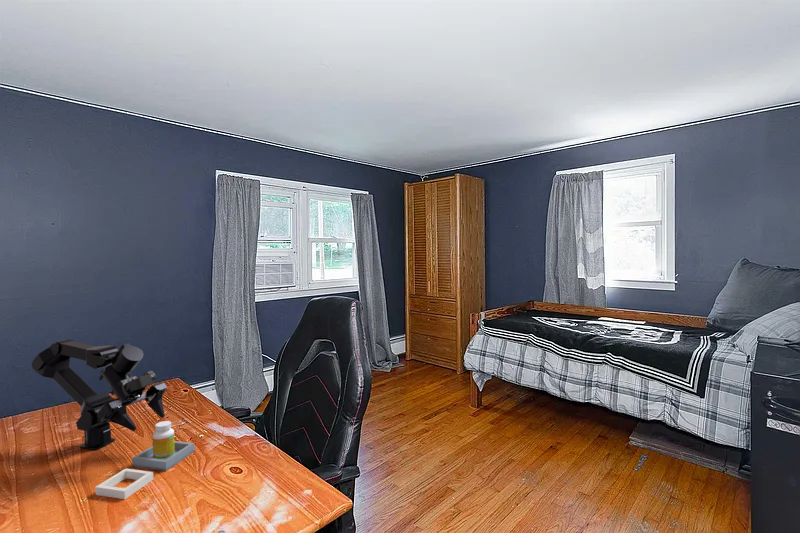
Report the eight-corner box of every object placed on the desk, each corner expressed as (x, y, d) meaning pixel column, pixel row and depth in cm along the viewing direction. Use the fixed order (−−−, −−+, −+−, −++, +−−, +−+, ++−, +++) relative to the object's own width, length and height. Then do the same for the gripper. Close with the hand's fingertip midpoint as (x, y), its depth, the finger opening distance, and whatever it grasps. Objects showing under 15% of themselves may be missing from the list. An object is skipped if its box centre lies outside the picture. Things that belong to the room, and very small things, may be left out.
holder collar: (95, 494, 100) (95, 486, 100) (126, 475, 109) (125, 468, 109) (124, 499, 99) (124, 491, 98) (153, 479, 107) (153, 472, 107)
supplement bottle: (171, 460, 116) (170, 426, 115) (150, 462, 114) (149, 428, 114) (177, 450, 121) (176, 418, 120) (157, 453, 120) (156, 420, 119)
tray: (132, 466, 113) (132, 457, 113) (163, 447, 124) (163, 439, 124) (166, 471, 111) (166, 462, 111) (194, 451, 122) (194, 443, 122)
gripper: (103, 374, 111) (134, 419, 108) (162, 356, 128) (190, 395, 126) (83, 398, 114) (113, 443, 111) (144, 378, 131) (171, 416, 128)
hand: (149, 423), depth 119 cm, fingers open, 9 cm apart
